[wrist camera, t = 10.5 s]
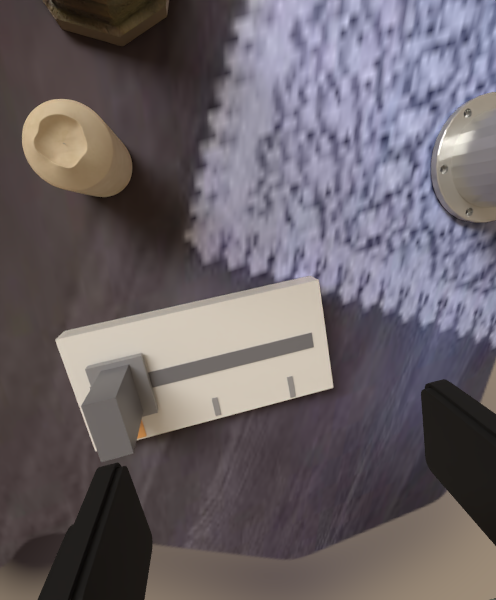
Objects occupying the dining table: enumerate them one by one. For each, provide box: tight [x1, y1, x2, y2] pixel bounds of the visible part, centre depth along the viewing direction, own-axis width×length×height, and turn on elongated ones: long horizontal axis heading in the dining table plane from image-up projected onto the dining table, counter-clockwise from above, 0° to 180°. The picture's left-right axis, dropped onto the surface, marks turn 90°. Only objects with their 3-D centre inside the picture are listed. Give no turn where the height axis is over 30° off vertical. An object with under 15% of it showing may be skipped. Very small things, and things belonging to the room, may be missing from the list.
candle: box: [22, 99, 132, 197], centre depth 26 cm, size 6×6×10 cm
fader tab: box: [81, 353, 158, 462], centre depth 29 cm, size 5×6×7 cm
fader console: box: [55, 276, 333, 451], centre depth 35 cm, size 25×12×3 cm, turn 101°
